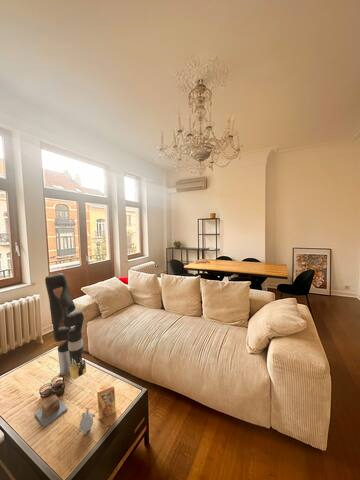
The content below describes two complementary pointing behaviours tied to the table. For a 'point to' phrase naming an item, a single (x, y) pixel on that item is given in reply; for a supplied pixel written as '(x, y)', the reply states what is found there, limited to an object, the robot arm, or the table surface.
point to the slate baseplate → (52, 417)
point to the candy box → (106, 400)
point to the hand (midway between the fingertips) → (78, 372)
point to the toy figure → (86, 422)
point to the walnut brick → (50, 406)
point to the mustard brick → (75, 371)
